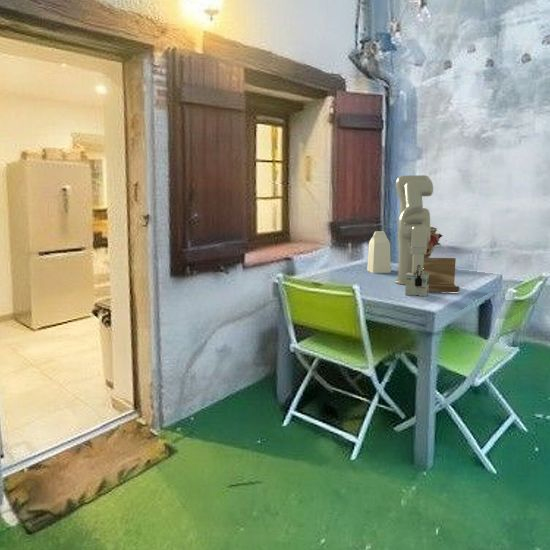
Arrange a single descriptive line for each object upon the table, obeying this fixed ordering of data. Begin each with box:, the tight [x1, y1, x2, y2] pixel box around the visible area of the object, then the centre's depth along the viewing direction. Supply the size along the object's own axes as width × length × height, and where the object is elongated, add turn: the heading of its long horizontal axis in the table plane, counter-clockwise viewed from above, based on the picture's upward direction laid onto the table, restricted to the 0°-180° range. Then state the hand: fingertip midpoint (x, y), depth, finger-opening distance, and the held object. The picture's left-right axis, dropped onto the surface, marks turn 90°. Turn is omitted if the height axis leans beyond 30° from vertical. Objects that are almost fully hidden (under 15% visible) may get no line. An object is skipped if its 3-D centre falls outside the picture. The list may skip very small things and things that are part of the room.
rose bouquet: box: [423, 226, 443, 268], centre depth 309 cm, size 26×29×30 cm
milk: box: [366, 230, 392, 274], centre depth 302 cm, size 12×12×26 cm
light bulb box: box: [404, 273, 429, 297], centre depth 235 cm, size 11×7×11 cm, turn 65°
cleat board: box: [423, 257, 460, 292], centre depth 245 cm, size 16×16×16 cm
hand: (417, 284), depth 235 cm, fingers open, 9 cm apart
